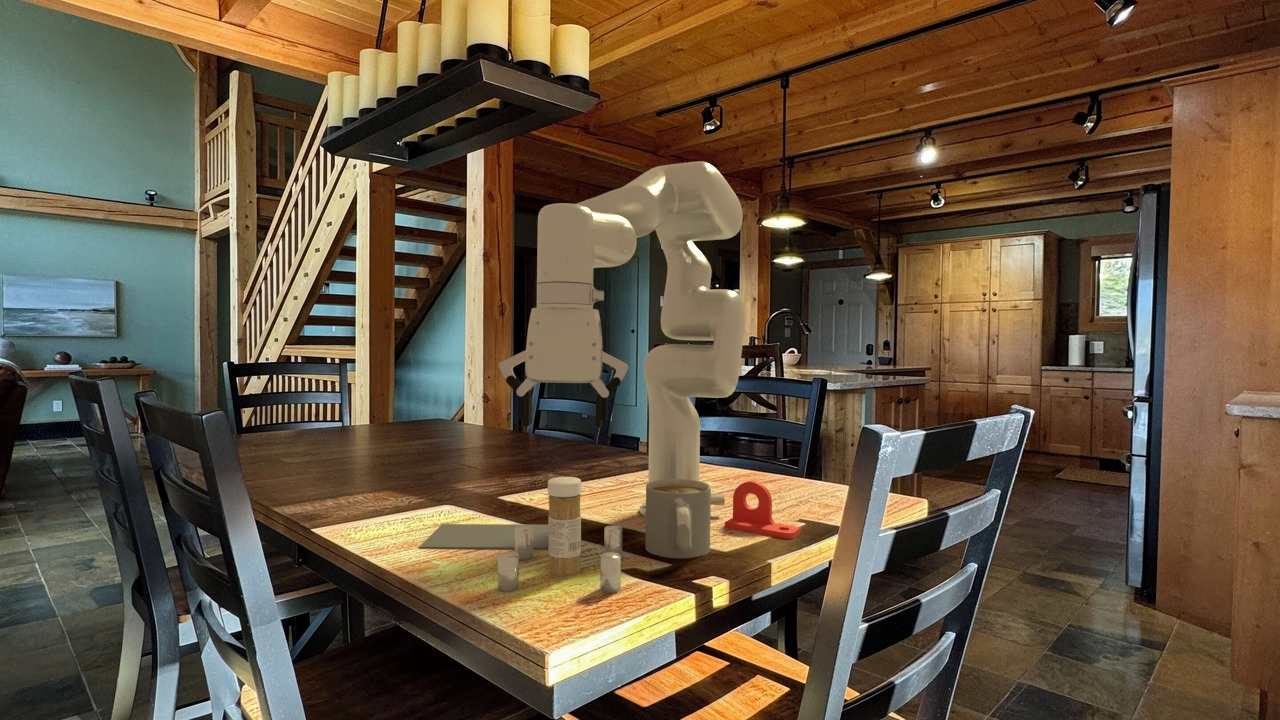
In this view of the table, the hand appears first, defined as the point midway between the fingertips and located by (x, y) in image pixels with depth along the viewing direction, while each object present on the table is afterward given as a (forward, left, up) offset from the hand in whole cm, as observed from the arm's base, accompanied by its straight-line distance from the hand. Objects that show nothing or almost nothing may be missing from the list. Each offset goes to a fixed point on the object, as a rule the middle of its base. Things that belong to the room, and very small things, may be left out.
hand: (563, 425), depth 88 cm
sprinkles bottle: (0, 0, -21) cm, 21 cm away
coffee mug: (-16, -10, -21) cm, 28 cm away
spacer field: (0, 0, -21) cm, 21 cm away
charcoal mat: (+13, -16, -21) cm, 29 cm away
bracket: (-32, -22, -21) cm, 44 cm away
